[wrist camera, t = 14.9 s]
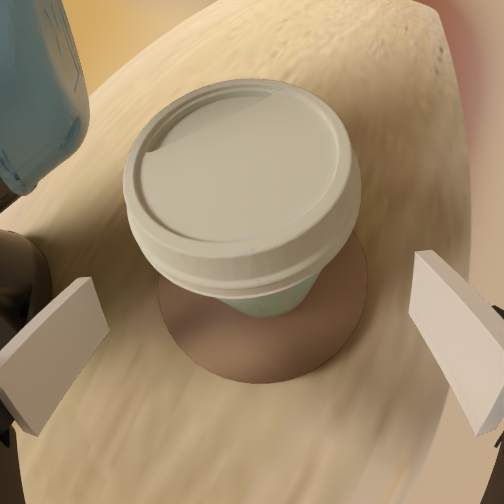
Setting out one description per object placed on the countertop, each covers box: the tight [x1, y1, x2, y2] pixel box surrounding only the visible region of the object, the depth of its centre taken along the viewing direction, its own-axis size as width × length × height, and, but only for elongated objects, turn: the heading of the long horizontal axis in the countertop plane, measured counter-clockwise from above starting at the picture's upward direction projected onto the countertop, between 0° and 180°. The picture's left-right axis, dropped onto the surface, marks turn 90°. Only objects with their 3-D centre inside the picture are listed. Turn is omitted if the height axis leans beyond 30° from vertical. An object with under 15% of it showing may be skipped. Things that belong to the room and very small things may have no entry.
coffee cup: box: [123, 78, 361, 319], centre depth 15 cm, size 8×8×12 cm
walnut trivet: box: [158, 230, 368, 384], centre depth 21 cm, size 14×14×2 cm
